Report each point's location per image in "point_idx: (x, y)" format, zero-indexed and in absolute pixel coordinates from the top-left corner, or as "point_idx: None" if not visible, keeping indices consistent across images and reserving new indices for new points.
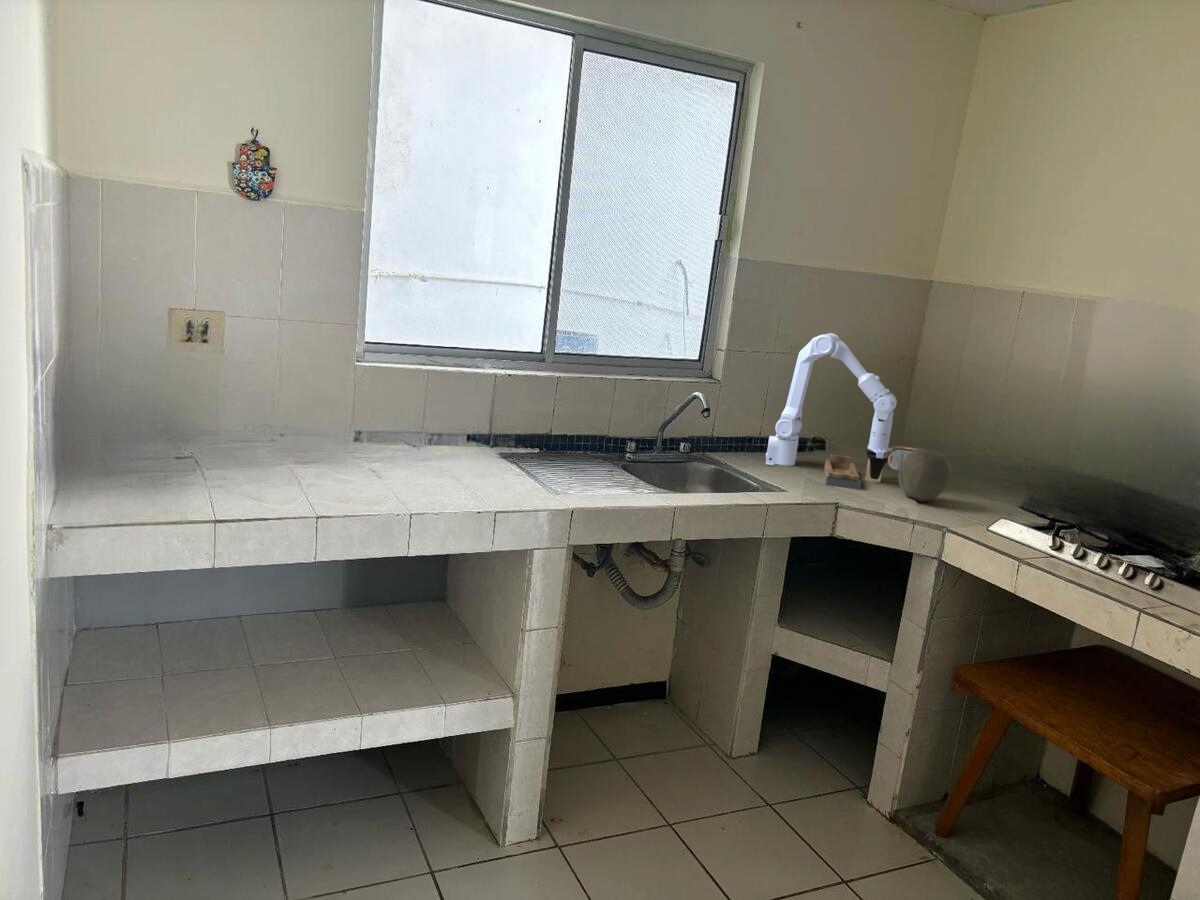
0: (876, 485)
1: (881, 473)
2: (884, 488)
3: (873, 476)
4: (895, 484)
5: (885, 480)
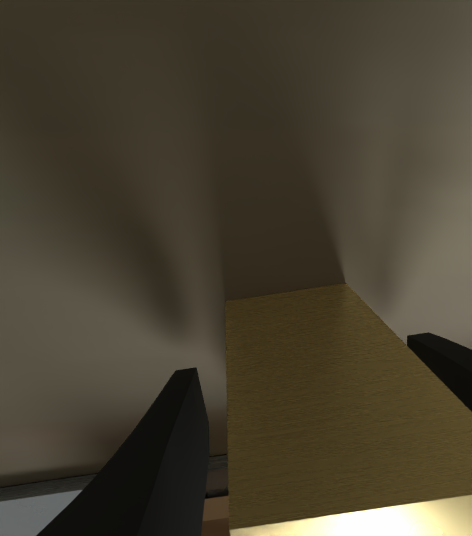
0: (387, 306)
1: (401, 342)
2: (468, 235)
3: None
4: (211, 133)
5: (103, 242)
